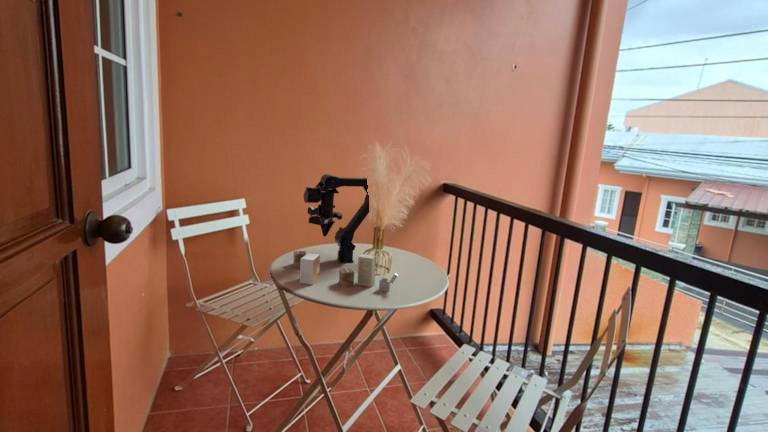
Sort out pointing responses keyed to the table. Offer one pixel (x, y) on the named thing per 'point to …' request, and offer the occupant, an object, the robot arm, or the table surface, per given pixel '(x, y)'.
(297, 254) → the walnut block seven
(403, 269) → the table surface
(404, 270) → the table surface
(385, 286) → the lighter
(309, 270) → the small box
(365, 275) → the skincare box
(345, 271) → the walnut block one
